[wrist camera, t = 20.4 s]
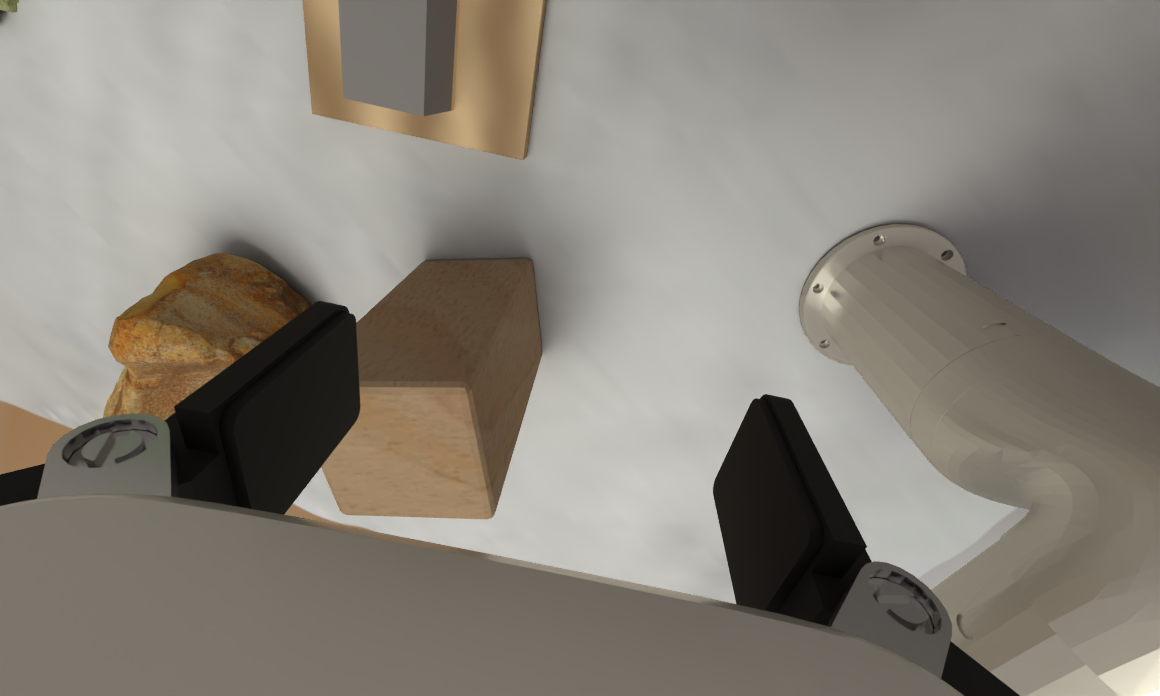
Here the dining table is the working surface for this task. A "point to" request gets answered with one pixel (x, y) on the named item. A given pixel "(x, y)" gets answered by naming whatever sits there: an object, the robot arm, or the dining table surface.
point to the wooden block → (440, 392)
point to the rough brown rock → (195, 330)
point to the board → (483, 77)
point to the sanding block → (400, 53)
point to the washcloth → (8, 5)
